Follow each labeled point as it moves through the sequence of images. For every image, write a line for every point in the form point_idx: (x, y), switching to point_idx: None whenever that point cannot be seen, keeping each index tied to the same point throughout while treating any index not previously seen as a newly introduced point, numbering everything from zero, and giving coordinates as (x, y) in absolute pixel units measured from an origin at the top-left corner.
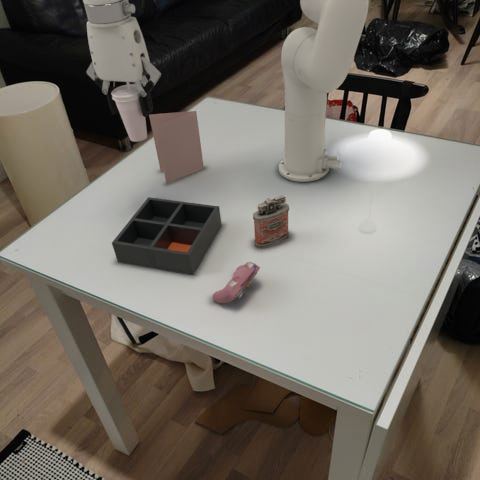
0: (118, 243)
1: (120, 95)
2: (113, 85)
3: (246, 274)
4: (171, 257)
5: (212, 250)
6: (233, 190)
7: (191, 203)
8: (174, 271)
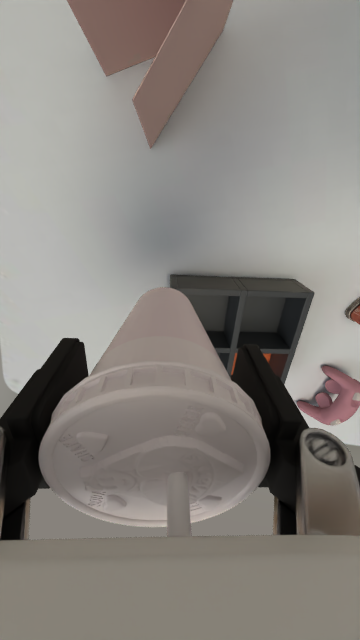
0: None
1: (146, 512)
2: (7, 470)
3: (352, 414)
4: None
5: None
6: (312, 151)
7: (261, 293)
8: None
